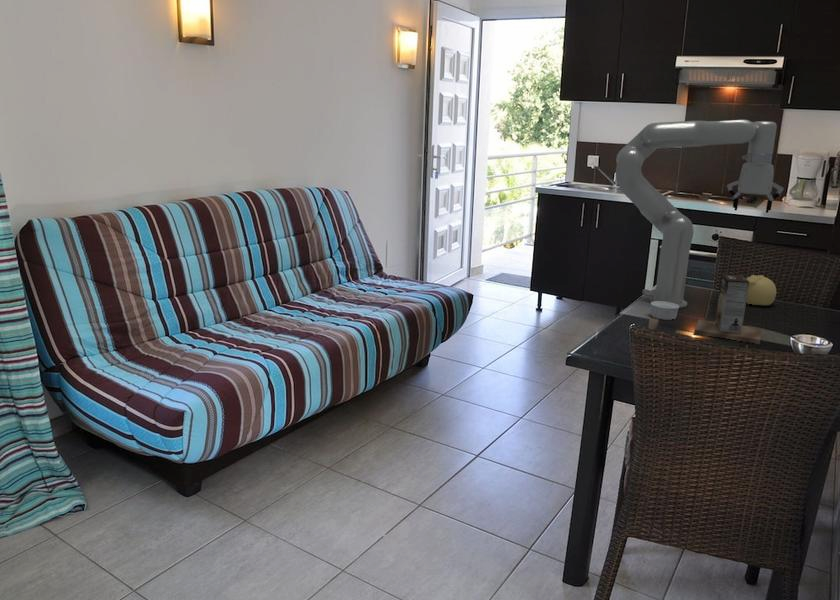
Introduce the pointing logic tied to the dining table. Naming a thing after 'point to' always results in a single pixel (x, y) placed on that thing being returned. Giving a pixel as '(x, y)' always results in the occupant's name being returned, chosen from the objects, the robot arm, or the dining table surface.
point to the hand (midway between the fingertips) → (751, 211)
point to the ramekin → (664, 310)
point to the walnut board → (711, 330)
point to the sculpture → (760, 290)
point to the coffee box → (731, 303)
